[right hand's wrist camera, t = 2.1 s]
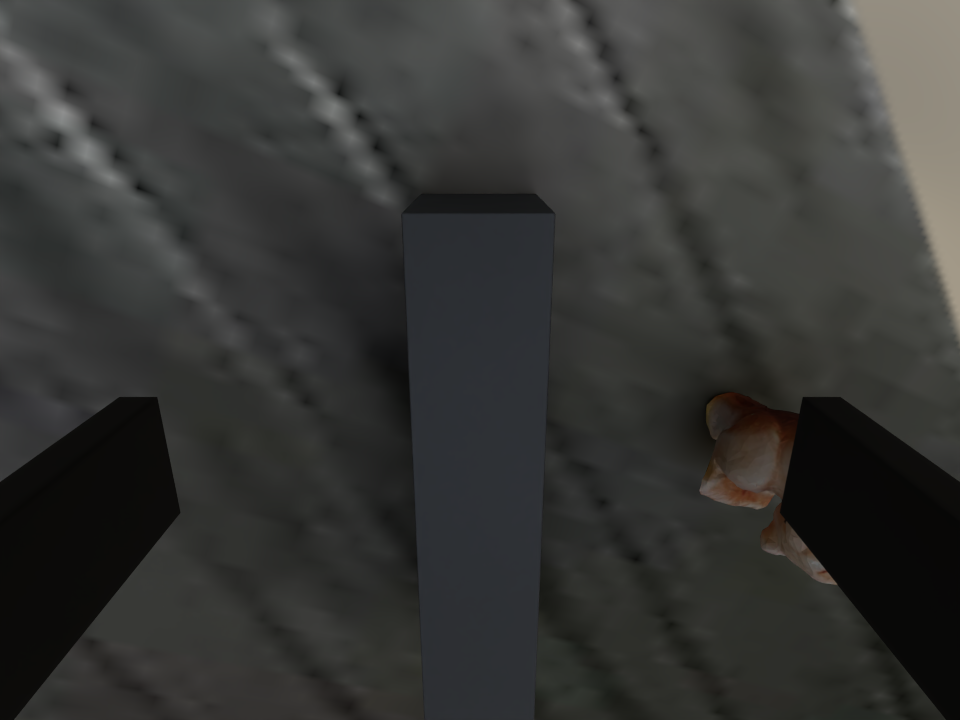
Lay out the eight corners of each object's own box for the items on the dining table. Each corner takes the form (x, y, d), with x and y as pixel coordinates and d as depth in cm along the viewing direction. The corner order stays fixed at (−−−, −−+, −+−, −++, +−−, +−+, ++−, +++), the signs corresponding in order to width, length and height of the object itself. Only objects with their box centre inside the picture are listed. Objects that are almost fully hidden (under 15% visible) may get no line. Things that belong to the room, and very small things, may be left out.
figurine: (667, 459, 34) (796, 683, 20) (726, 340, 32) (921, 500, 18) (763, 488, 35) (953, 723, 21) (829, 373, 33) (1094, 553, 19)
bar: (420, 193, 29) (401, 212, 22) (536, 193, 29) (555, 213, 22) (435, 615, 39) (424, 727, 31) (523, 614, 39) (533, 727, 31)
